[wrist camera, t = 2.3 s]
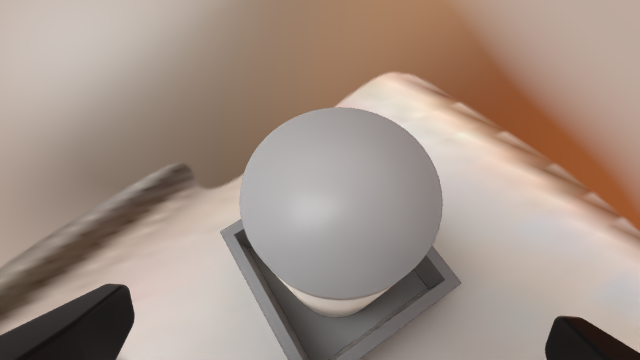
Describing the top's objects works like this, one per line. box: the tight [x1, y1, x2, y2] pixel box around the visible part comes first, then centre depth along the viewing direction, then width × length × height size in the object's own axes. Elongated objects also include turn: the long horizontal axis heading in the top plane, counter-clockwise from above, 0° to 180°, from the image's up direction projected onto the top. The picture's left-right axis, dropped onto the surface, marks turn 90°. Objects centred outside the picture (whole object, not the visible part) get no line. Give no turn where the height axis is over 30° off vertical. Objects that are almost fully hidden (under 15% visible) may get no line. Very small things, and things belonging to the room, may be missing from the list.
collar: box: [220, 219, 461, 360], centre depth 17 cm, size 8×8×3 cm
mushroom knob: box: [240, 107, 443, 318], centre depth 14 cm, size 5×5×11 cm
